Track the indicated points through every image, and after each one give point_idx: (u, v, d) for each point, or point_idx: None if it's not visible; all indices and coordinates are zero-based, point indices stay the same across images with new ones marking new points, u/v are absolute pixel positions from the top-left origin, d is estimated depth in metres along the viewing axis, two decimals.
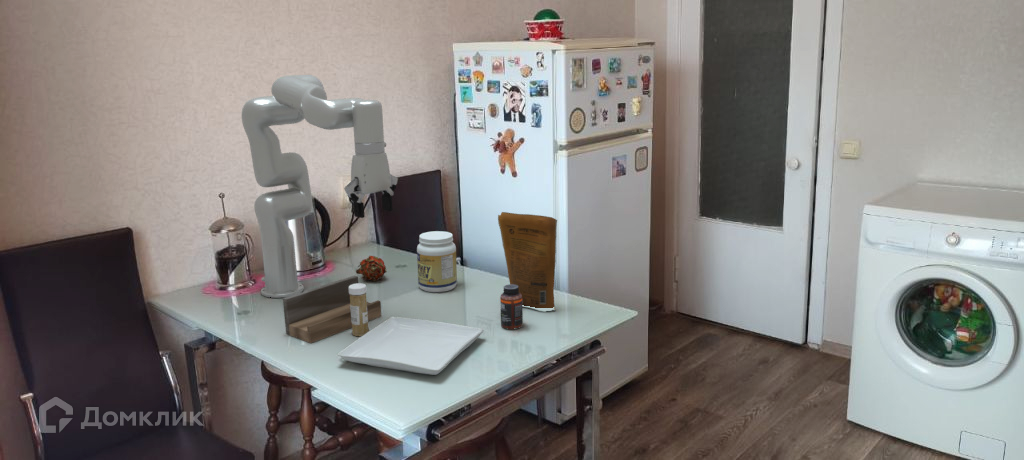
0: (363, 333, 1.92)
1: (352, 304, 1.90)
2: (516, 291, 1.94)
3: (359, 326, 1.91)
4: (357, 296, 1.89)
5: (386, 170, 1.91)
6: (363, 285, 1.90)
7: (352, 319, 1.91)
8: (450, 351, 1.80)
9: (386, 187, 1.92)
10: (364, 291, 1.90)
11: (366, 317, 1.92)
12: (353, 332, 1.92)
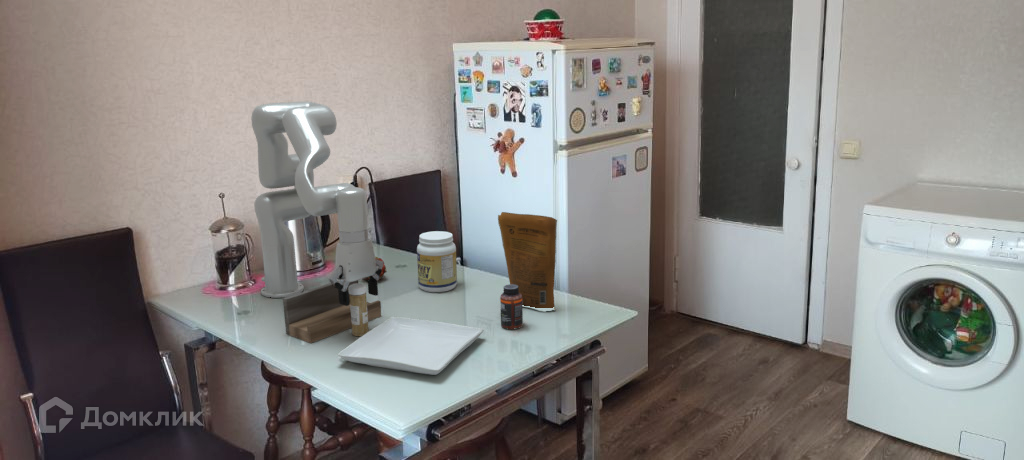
0: (363, 333, 1.92)
1: (352, 304, 1.90)
2: (516, 291, 1.94)
3: (359, 326, 1.91)
4: (357, 296, 1.89)
5: (371, 256, 1.89)
6: (363, 285, 1.90)
7: (352, 319, 1.91)
8: (450, 351, 1.80)
9: (371, 273, 1.90)
10: (364, 291, 1.90)
11: (366, 317, 1.92)
12: (353, 332, 1.92)
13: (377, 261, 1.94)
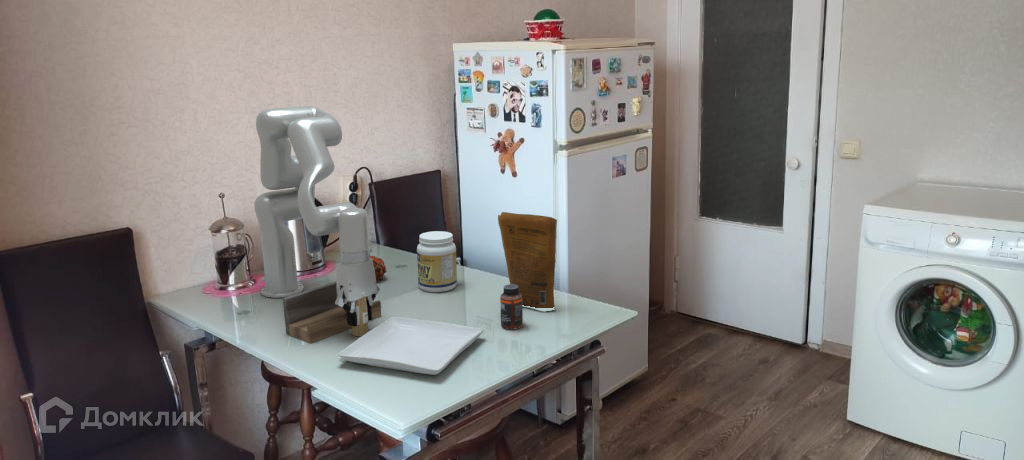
0: (363, 333, 1.92)
1: None
2: (516, 291, 1.94)
3: (359, 326, 1.91)
4: None
5: (372, 276, 1.91)
6: None
7: None
8: (450, 351, 1.80)
9: (372, 292, 1.92)
10: None
11: (366, 317, 1.92)
12: (353, 332, 1.92)
13: None
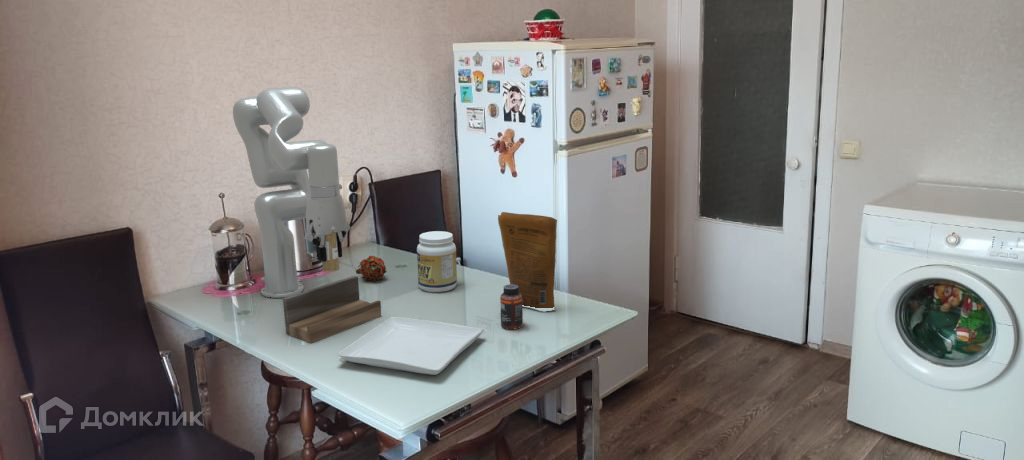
0: (333, 269, 1.94)
1: None
2: (516, 291, 1.94)
3: (329, 262, 1.93)
4: None
5: (341, 212, 1.93)
6: None
7: None
8: (450, 351, 1.80)
9: (342, 228, 1.95)
10: None
11: (336, 253, 1.94)
12: (323, 268, 1.95)
13: (345, 222, 1.97)
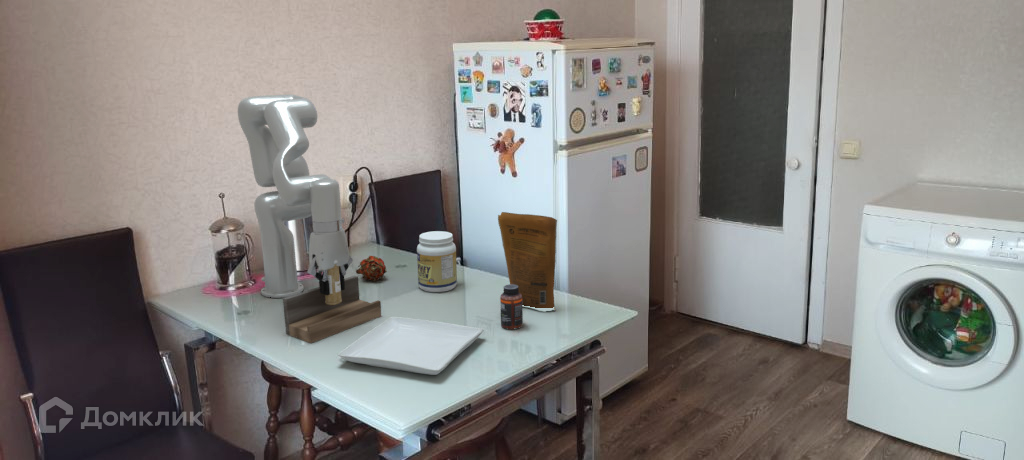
0: (336, 302, 1.96)
1: None
2: (516, 291, 1.94)
3: (332, 295, 1.96)
4: None
5: (344, 246, 1.96)
6: None
7: None
8: (450, 351, 1.80)
9: (344, 262, 1.97)
10: (336, 260, 1.94)
11: (339, 286, 1.96)
12: (326, 301, 1.97)
13: None
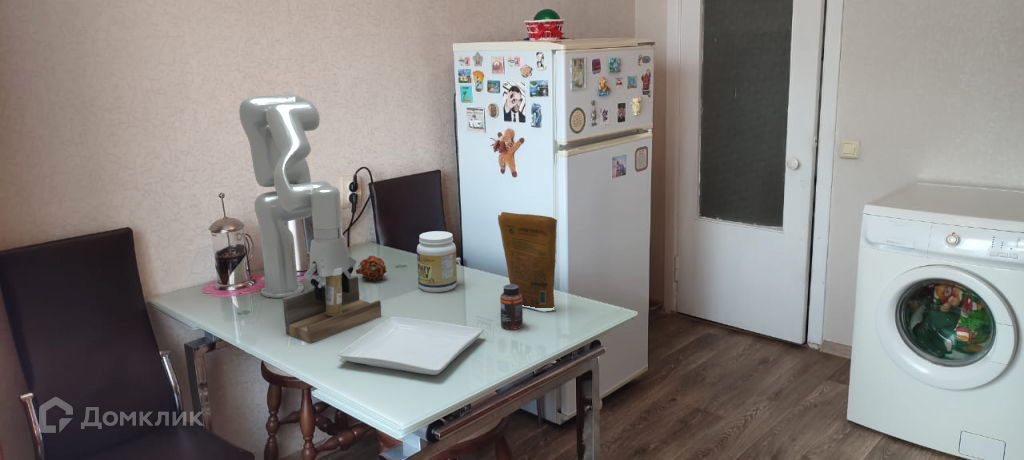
0: (336, 313, 1.97)
1: (327, 284, 1.95)
2: (516, 291, 1.94)
3: (333, 307, 1.97)
4: (332, 277, 1.95)
5: (344, 253, 1.96)
6: None
7: (326, 299, 1.97)
8: (450, 351, 1.80)
9: (345, 269, 1.97)
10: (340, 272, 1.95)
11: (340, 298, 1.97)
12: (327, 312, 1.98)
13: (350, 259, 2.00)
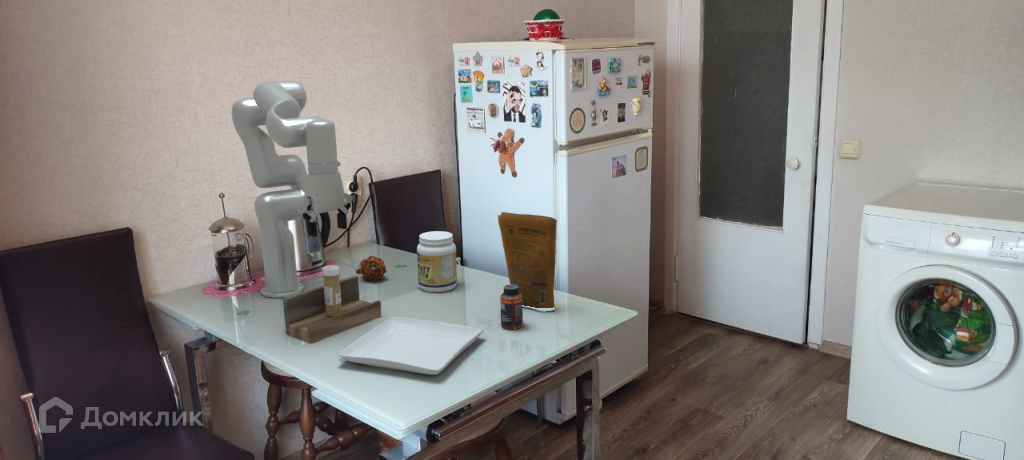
0: (336, 313, 1.97)
1: (325, 285, 1.95)
2: (516, 291, 1.94)
3: (332, 307, 1.97)
4: (330, 277, 1.95)
5: (340, 189, 1.92)
6: (336, 267, 1.96)
7: (325, 300, 1.97)
8: (450, 351, 1.80)
9: (340, 206, 1.93)
10: (337, 272, 1.95)
11: (339, 298, 1.97)
12: (326, 312, 1.98)
13: (346, 195, 1.96)
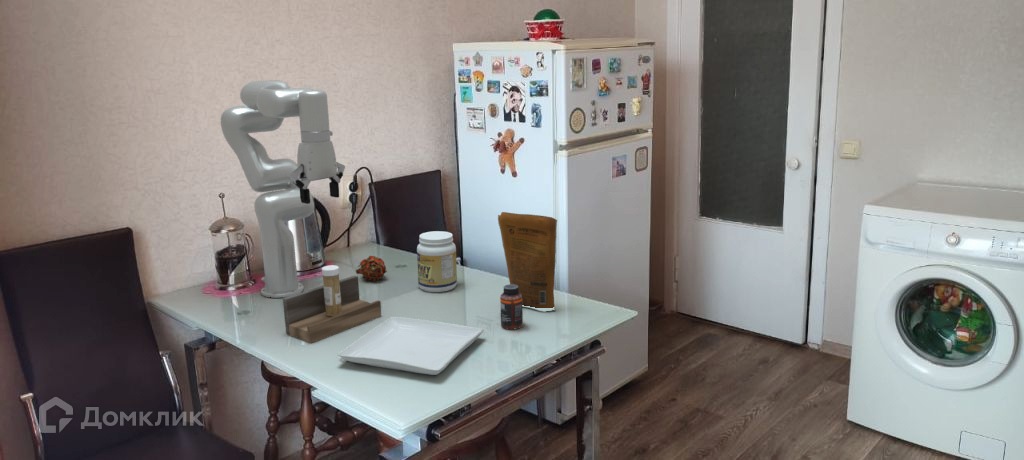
0: (336, 313, 1.97)
1: (325, 285, 1.96)
2: (516, 291, 1.94)
3: (332, 307, 1.97)
4: (329, 277, 1.95)
5: (332, 158, 1.98)
6: (336, 267, 1.96)
7: (325, 300, 1.97)
8: (450, 351, 1.80)
9: (332, 174, 1.99)
10: (337, 272, 1.95)
11: (339, 298, 1.97)
12: (326, 313, 1.98)
13: (338, 164, 2.02)
